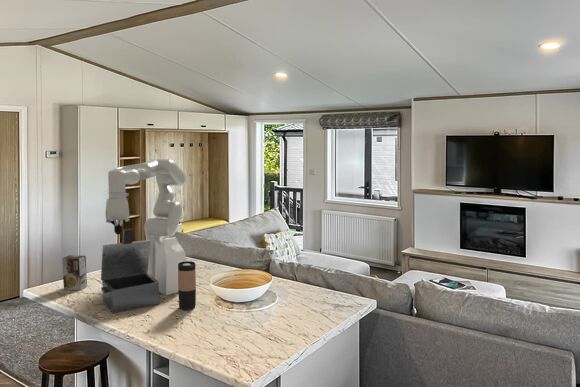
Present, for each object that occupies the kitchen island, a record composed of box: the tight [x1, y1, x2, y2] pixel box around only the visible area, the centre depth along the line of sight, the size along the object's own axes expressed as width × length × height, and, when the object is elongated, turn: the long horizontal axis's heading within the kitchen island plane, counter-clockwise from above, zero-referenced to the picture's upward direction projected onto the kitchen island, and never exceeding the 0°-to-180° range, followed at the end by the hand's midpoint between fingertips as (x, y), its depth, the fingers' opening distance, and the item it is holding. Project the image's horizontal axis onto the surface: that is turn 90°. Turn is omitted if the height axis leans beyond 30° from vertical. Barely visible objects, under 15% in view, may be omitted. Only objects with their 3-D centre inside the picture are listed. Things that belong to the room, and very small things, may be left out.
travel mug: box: [177, 260, 197, 311], centre depth 198 cm, size 8×8×20 cm
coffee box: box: [61, 254, 88, 291], centre depth 223 cm, size 9×6×16 cm
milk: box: [154, 236, 187, 296], centre depth 222 cm, size 12×12×26 cm
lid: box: [100, 228, 151, 281], centre depth 206 cm, size 21×25×2 cm
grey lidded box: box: [100, 273, 160, 314], centre depth 204 cm, size 24×18×10 cm
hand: (118, 233), depth 215 cm, fingers closed
